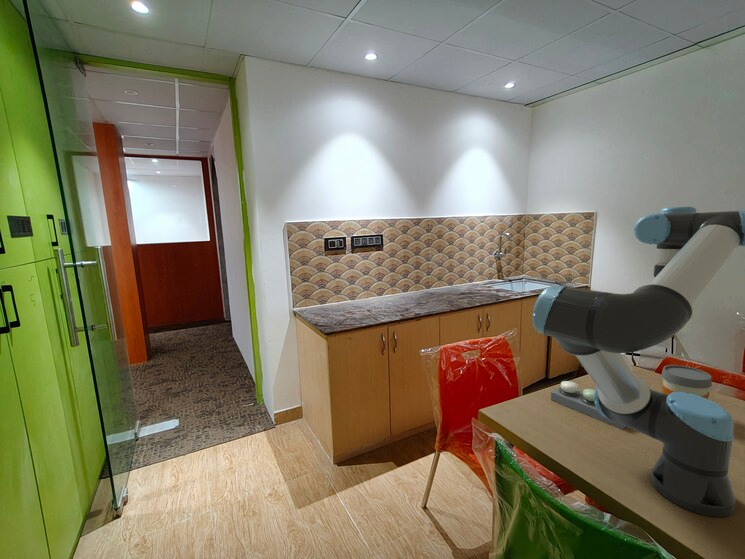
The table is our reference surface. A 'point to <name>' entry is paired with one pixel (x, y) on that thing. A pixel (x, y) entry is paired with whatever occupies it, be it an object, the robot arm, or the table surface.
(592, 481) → the table surface
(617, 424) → the button panel
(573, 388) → the cream button
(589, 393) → the sage button
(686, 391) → the reusable coffee cup
